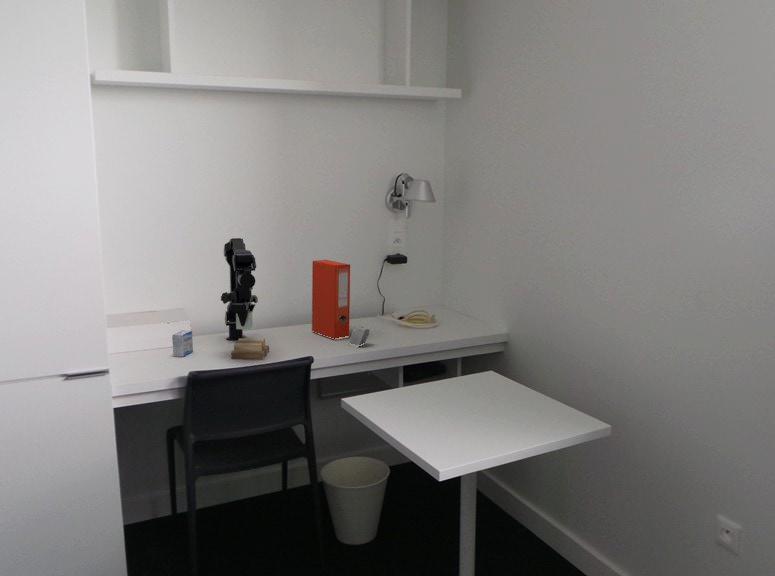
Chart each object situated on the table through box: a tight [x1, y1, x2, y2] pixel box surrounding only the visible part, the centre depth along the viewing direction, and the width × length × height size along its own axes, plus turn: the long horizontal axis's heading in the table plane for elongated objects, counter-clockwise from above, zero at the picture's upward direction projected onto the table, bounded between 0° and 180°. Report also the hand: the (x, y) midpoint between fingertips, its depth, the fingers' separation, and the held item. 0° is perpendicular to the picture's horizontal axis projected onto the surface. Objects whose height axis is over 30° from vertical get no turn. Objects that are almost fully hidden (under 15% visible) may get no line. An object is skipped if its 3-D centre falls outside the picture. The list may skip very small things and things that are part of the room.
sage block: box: [236, 311, 254, 330], centre depth 265 cm, size 5×5×6 cm
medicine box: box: [171, 329, 194, 358], centre depth 266 cm, size 8×4×9 cm, turn 168°
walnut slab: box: [230, 345, 270, 361], centre depth 266 cm, size 12×12×3 cm
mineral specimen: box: [348, 326, 371, 345], centre depth 283 cm, size 7×9×8 cm
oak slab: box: [233, 337, 266, 353], centre depth 266 cm, size 10×10×3 cm
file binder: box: [311, 259, 351, 339], centre depth 297 cm, size 8×17×32 cm, turn 39°
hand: (244, 324), depth 265 cm, fingers closed on sage block, 5 cm apart
